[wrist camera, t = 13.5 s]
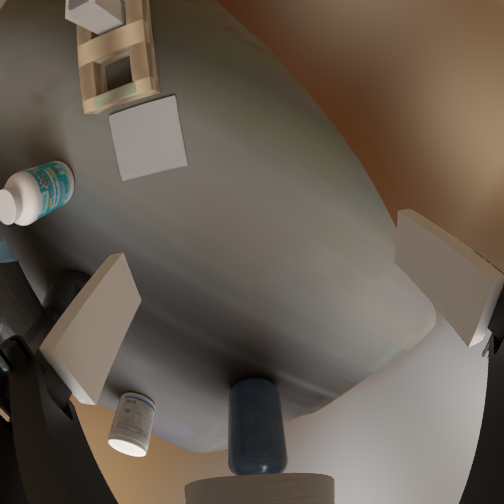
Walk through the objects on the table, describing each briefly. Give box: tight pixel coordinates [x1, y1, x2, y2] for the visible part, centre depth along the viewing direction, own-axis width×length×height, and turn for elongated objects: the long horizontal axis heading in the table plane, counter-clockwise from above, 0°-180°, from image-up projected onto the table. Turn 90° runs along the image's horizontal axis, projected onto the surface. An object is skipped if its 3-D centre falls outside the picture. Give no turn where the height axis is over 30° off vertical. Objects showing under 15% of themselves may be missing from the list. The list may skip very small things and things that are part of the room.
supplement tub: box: [108, 393, 156, 457], centre depth 52 cm, size 10×10×15 cm
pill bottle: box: [0, 161, 74, 226], centre depth 29 cm, size 8×7×14 cm
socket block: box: [77, 0, 161, 114], centre depth 26 cm, size 10×18×4 cm, turn 9°
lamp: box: [185, 378, 334, 504], centre depth 37 cm, size 25×25×43 cm
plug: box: [65, 0, 126, 36], centre depth 20 cm, size 4×4×13 cm
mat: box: [109, 95, 188, 181], centre depth 34 cm, size 10×10×1 cm
